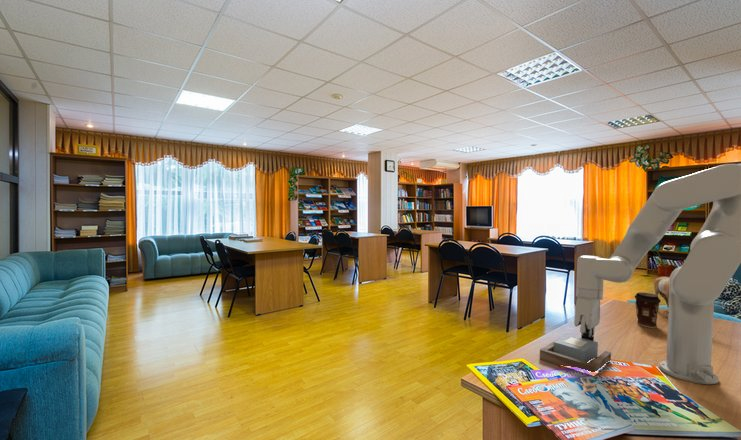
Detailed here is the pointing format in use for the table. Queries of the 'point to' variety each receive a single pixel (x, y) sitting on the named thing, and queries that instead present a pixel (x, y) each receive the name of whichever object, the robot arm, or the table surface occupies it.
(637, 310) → the coffee cup
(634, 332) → the table surface
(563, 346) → the carton
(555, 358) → the display bay
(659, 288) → the horse figurine
